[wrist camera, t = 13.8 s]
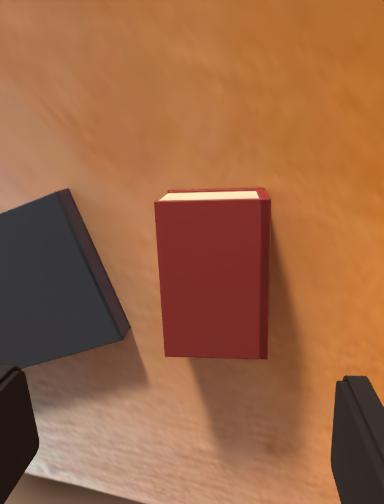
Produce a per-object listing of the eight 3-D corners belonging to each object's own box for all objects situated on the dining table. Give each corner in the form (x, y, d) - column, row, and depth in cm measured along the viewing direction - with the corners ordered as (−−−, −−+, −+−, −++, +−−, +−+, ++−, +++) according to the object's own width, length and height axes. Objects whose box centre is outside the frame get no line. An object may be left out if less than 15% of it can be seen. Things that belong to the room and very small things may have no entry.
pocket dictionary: (264, 187, 26) (271, 198, 21) (262, 323, 29) (267, 359, 24) (168, 190, 26) (153, 201, 22) (176, 322, 29) (164, 356, 25)
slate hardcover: (68, 188, 27) (56, 191, 25) (130, 327, 30) (123, 339, 28) (-99, 252, 30) (-121, 260, 28) (-28, 373, 33) (-44, 387, 31)
